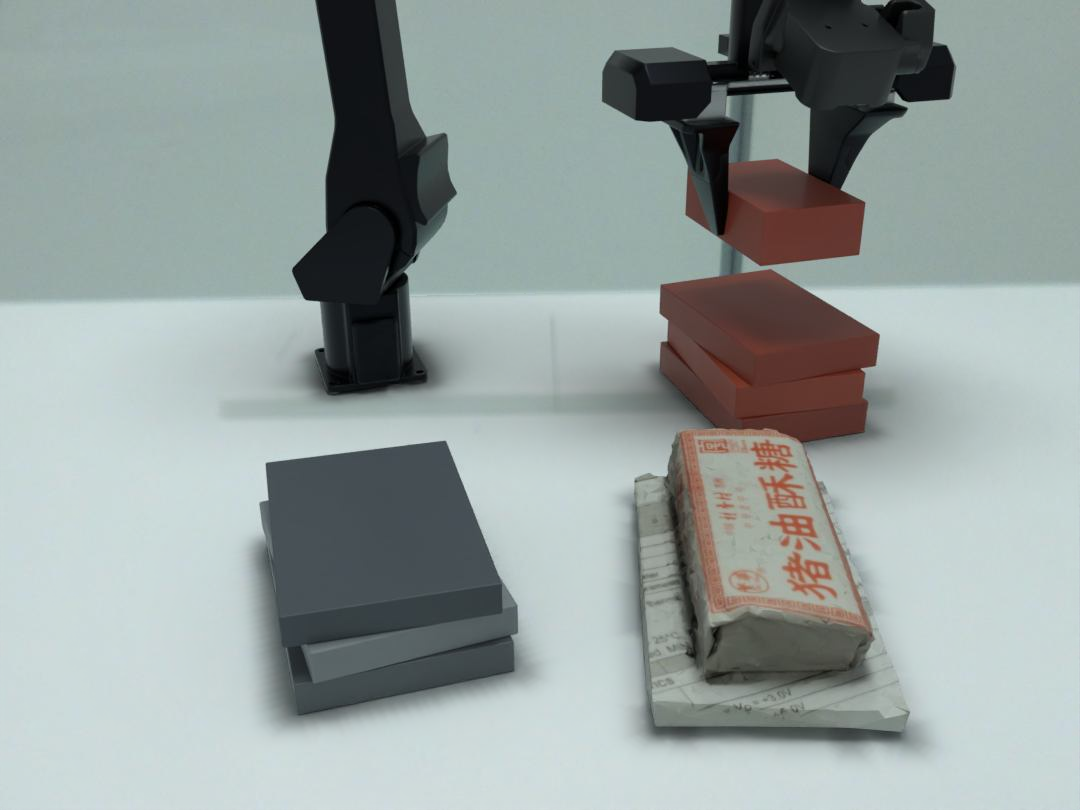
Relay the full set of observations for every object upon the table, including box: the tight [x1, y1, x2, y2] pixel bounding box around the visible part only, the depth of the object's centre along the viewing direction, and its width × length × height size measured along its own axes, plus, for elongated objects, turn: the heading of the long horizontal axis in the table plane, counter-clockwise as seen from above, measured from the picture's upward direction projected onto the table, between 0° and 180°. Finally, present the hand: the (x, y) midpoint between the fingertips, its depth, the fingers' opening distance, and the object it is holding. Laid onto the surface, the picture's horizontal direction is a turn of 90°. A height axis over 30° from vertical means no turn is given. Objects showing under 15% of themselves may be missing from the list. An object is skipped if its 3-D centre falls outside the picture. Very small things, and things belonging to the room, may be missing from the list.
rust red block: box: [684, 158, 866, 267], centre depth 66 cm, size 10×6×3 cm, turn 17°
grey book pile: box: [258, 440, 519, 716], centre depth 52 cm, size 13×10×4 cm
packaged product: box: [633, 428, 911, 733], centre depth 51 cm, size 18×5×10 cm
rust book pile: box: [658, 268, 881, 443], centre depth 70 cm, size 13×9×6 cm
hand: (766, 228), depth 66 cm, fingers closed on rust red block, 6 cm apart
